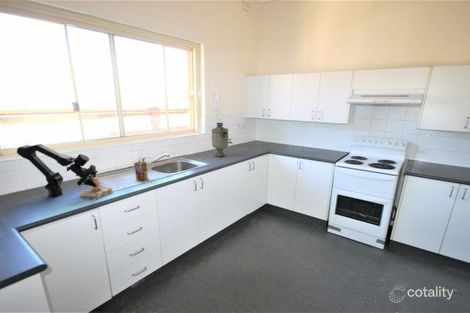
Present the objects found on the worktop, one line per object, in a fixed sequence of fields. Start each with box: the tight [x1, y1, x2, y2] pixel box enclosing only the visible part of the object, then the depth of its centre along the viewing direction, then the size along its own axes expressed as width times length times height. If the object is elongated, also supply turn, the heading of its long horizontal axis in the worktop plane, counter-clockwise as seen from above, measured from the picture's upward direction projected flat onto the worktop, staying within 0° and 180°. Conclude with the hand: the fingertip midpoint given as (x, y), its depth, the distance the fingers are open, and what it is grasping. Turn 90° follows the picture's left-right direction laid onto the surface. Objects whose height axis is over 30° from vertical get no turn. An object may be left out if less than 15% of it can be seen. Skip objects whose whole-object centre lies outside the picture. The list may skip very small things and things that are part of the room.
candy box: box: [134, 160, 149, 181], centre depth 193 cm, size 9×4×15 cm, turn 104°
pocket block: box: [79, 185, 114, 200], centre depth 164 cm, size 14×14×3 cm
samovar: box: [211, 122, 233, 159], centre depth 274 cm, size 30×26×40 cm
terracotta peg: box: [92, 176, 100, 192], centre depth 163 cm, size 4×4×12 cm
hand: (98, 185), depth 163 cm, fingers closed on terracotta peg, 4 cm apart
